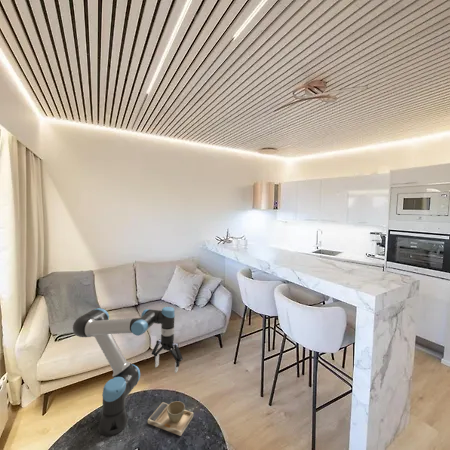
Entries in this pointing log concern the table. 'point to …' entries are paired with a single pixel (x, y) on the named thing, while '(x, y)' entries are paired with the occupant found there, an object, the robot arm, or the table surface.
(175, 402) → the flower pot
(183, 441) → the table surface
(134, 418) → the table surface
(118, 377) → the robot arm
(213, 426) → the table surface
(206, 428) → the table surface
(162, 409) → the wooden tray
